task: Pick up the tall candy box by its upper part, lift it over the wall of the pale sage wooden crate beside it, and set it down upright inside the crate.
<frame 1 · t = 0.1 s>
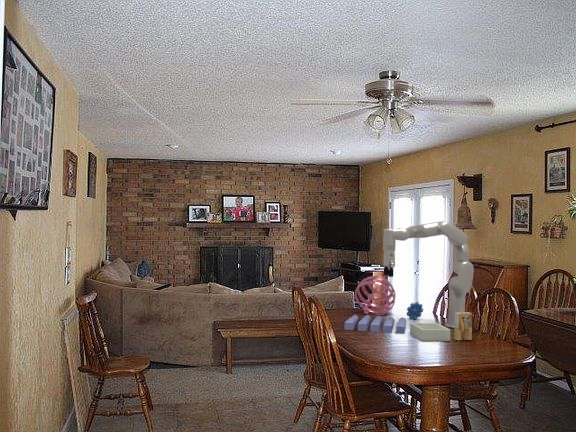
hand: (388, 275, 351), 31 cm above the table, tool pointing down, fingers open, 9 cm apart
pink lattice ball: (375, 314, 396), on the table
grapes: (414, 319, 378), on the table
candy box: (462, 340, 314), on the table
crate: (429, 337, 318), on the table
blocks: (376, 327, 348), on the table
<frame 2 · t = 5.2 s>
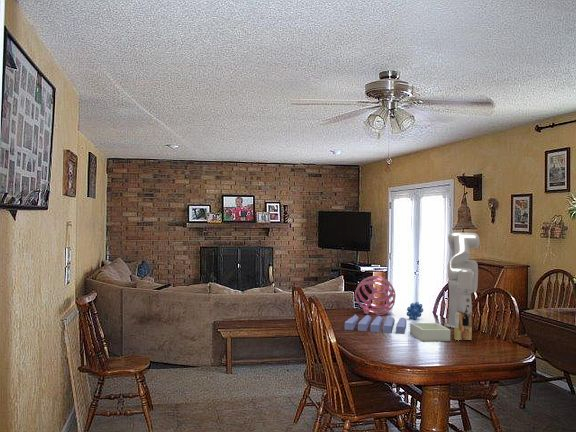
hand: (463, 324, 314), 9 cm above the table, tool pointing down, fingers closed on candy box, 5 cm apart
candy box: (462, 340, 314), on the table, touching gripper
everything else where it was.
when the fingers open (12 cm above the table, at t = 11.5 s): candy box drops 2 cm, resting on crate.
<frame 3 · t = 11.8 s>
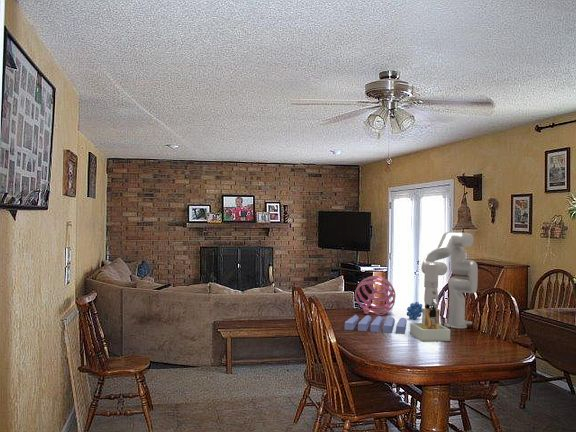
hand: (430, 315, 319), 12 cm above the table, tool pointing down, fingers open, 8 cm apart
candy box: (429, 336, 318), point 1 cm above the table, touching crate
everything else where it was.
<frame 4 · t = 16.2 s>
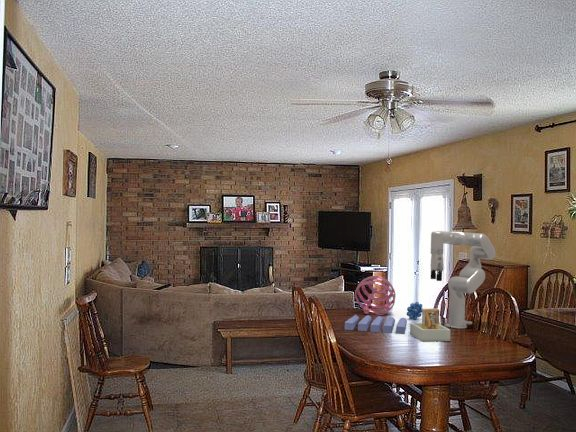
hand: (436, 279, 344), 30 cm above the table, tool pointing down, fingers open, 9 cm apart
nothing on the table moved.
at the end: candy box inside the target area on the crate (0.2 cm from its centre), point 0.8 cm above the crate's base; the gripper is holding nothing; candy box tilted 0° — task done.
